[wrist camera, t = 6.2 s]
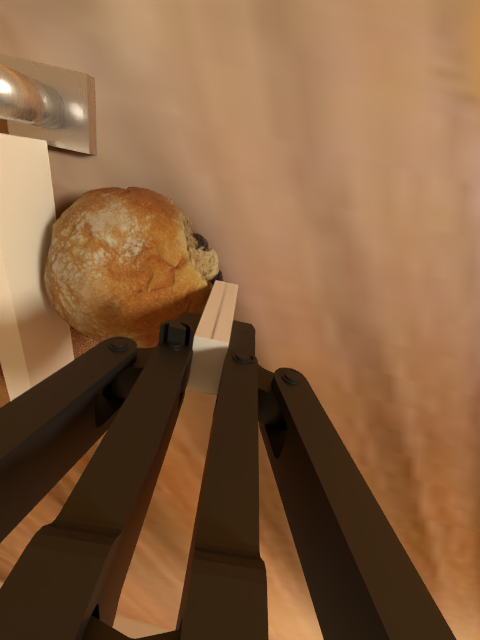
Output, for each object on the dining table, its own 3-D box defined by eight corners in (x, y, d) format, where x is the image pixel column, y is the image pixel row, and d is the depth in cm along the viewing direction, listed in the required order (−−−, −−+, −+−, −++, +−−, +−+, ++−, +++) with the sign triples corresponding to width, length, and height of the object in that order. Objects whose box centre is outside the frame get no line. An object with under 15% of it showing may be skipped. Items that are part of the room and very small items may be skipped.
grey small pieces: (55, 416, 27) (16, 464, 22) (8, 58, 15) (-92, 11, 11) (103, 424, 27) (74, 473, 23) (94, 78, 15) (30, 40, 11)
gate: (57, 378, 23) (16, 422, 19) (18, 135, 16) (-64, 122, 12) (76, 380, 23) (39, 425, 19) (46, 140, 16) (-26, 129, 12)
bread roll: (130, 172, 21) (-1, 148, 14) (253, 223, 17) (162, 224, 11) (115, 296, 25) (10, 323, 18) (212, 354, 22) (128, 413, 15)
